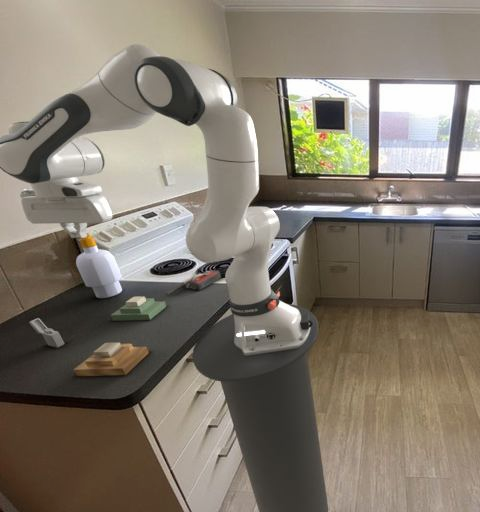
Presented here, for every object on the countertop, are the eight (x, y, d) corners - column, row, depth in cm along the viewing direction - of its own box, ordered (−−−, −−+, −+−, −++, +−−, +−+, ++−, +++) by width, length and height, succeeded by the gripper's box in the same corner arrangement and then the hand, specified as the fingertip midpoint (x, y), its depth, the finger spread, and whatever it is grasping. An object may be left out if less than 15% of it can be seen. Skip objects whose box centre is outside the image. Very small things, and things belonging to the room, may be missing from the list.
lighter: (65, 343, 83) (52, 320, 80) (57, 347, 82) (44, 324, 79) (48, 339, 85) (35, 317, 82) (40, 343, 84) (27, 320, 80)
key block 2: (148, 353, 80) (144, 341, 78) (125, 375, 72) (120, 362, 71) (104, 354, 79) (99, 342, 78) (76, 376, 72) (70, 363, 70)
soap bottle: (97, 303, 104) (69, 240, 94) (86, 296, 108) (58, 235, 99) (132, 291, 112) (109, 232, 102) (120, 285, 116) (97, 228, 107)
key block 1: (166, 306, 101) (163, 296, 100) (150, 319, 94) (146, 309, 93) (132, 307, 101) (128, 297, 100) (112, 320, 94) (108, 310, 92)
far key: (146, 301, 98) (144, 296, 97) (138, 307, 95) (136, 301, 94) (135, 301, 98) (133, 296, 97) (127, 307, 95) (125, 302, 94)
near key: (122, 348, 76) (119, 342, 75) (110, 358, 73) (107, 351, 72) (108, 348, 76) (105, 342, 75) (96, 358, 73) (93, 352, 72)
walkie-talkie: (208, 274, 125) (164, 297, 108) (205, 265, 124) (161, 286, 106) (224, 276, 123) (183, 300, 105) (222, 267, 121) (179, 289, 104)
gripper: (3, 191, 73) (29, 241, 79) (85, 190, 74) (106, 240, 79) (31, 187, 79) (53, 234, 84) (106, 186, 80) (124, 233, 85)
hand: (79, 237), depth 82 cm, fingers closed
